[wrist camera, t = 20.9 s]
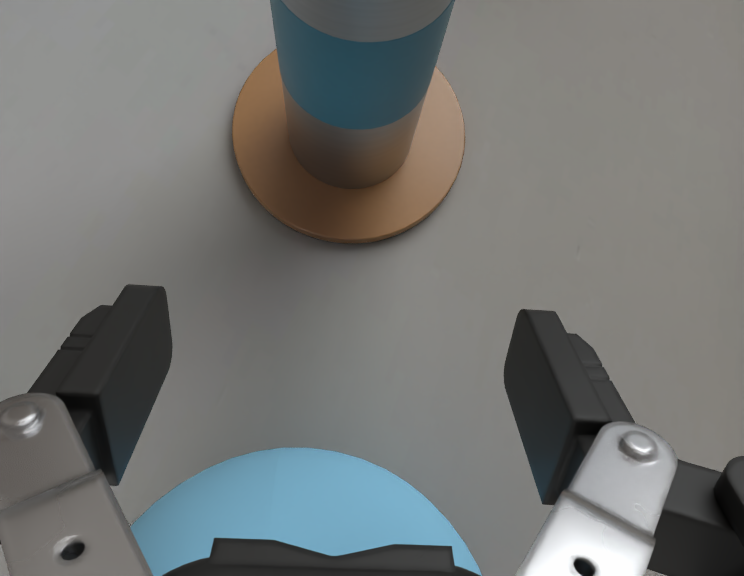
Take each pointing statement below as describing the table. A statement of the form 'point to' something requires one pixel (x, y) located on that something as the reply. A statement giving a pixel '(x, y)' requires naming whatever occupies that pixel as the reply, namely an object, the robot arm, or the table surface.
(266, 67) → the cork coaster
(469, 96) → the table surface
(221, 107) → the table surface
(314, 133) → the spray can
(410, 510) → the sugar bowl
